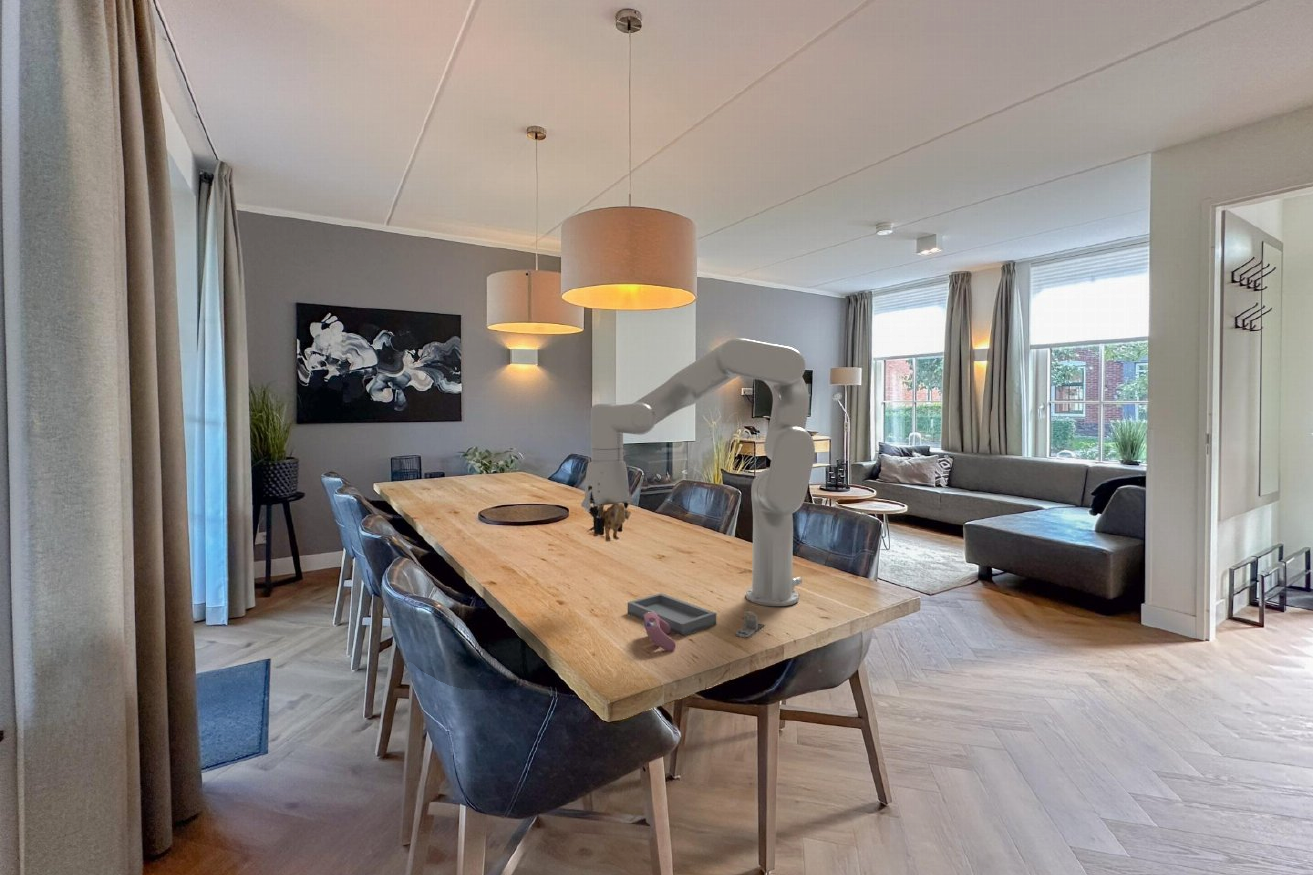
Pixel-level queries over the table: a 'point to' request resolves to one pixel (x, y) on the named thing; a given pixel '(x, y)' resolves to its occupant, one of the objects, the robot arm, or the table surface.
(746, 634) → the strap clip
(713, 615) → the slate tray
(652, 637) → the pink curved piece
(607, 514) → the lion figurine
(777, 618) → the table surface
